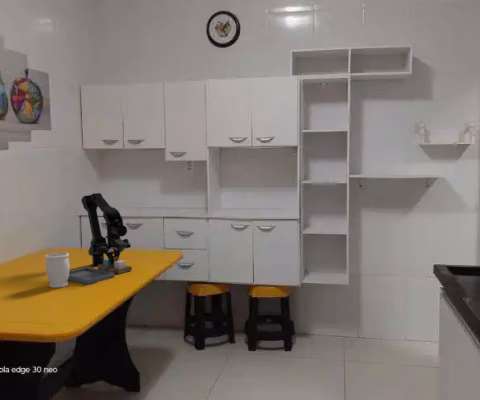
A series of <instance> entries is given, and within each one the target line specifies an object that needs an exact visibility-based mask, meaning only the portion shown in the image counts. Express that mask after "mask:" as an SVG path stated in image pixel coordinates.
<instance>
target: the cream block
mask: <svg viewBox="0 0 480 400" xmlns="http://www.w3.org/2000/svg"><path fill="white" fill-rule="evenodd" d="M126 266H127V264H126V260H124V259H123V260H122V259H118V261H114V267H115V268H116V269H122V268H126Z"/></svg>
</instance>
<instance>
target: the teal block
mask: <svg viewBox="0 0 480 400" xmlns="http://www.w3.org/2000/svg"><path fill="white" fill-rule="evenodd" d="M103 263H104V266H106V267H111V263H110V261H109V259H108V258H104V259H103Z"/></svg>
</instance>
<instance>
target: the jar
mask: <svg viewBox="0 0 480 400" xmlns="http://www.w3.org/2000/svg"><path fill="white" fill-rule="evenodd" d="M69 256H70V253H69V252H54V253H52V252H51V253H48V254H45V255H44V258H45V259H46V262H45V272H46V275H47V276H46V277H47V279H48V282H49V287H50V288H52V289H57V288H58V289H59V288H65V287H67V286H68V285H69V282H68V281H69V280H68V278H69V271H71V269H70V268H71V265H70V260H69Z"/></svg>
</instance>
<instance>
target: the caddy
mask: <svg viewBox="0 0 480 400" xmlns="http://www.w3.org/2000/svg"><path fill="white" fill-rule="evenodd" d="M118 260H119V259H118V256H114V255H113V264H111V267H106V266H104V264H100V265H98V267H97V269H98V270H103V271H108V272H112V273H114V274H115V273H116V274H123V273H127V272H131V271H133V270H132V269H133V267H132V266H130V265H126V268H122V269H116V268H115V267H114V261H118Z"/></svg>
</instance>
